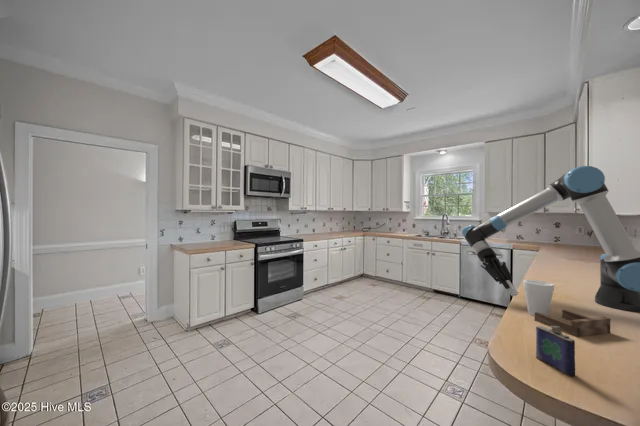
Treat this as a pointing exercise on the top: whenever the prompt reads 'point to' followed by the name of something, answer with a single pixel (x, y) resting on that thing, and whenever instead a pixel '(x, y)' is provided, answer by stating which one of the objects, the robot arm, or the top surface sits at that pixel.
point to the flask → (556, 349)
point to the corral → (577, 324)
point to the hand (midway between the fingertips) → (515, 294)
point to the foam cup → (538, 296)
